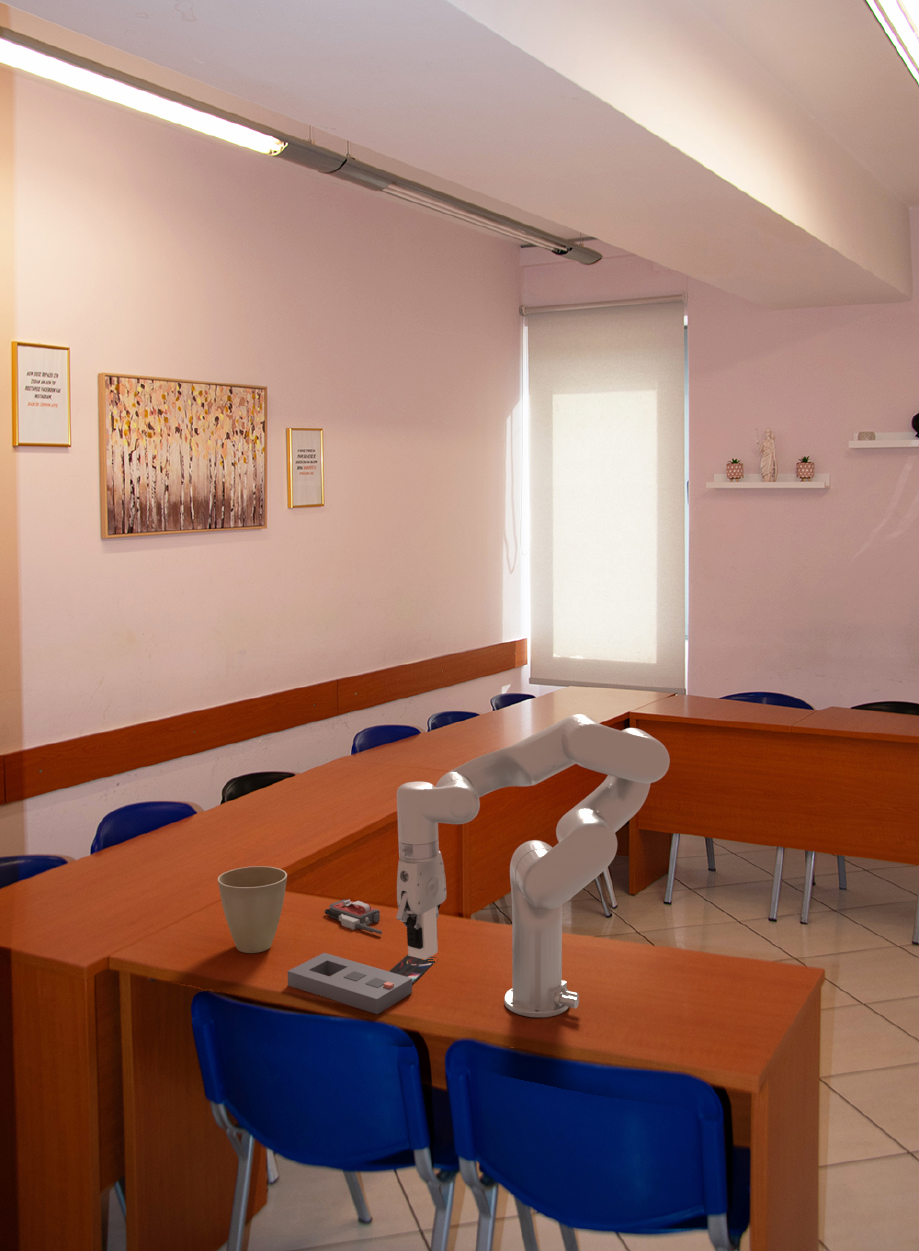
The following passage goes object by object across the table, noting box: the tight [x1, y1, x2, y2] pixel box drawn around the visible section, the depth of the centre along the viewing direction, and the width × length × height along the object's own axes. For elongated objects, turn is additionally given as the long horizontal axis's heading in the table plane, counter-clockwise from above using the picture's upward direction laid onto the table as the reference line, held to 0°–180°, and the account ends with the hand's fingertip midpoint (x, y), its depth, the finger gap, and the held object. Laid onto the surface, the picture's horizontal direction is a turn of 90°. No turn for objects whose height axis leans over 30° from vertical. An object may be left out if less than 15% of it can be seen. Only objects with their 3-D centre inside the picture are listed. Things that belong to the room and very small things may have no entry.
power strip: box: [287, 952, 413, 1015], centre depth 209 cm, size 23×11×4 cm, turn 56°
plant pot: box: [217, 865, 288, 954], centre depth 230 cm, size 15×15×16 cm
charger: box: [407, 907, 439, 960], centre depth 198 cm, size 4×4×9 cm
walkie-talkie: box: [324, 899, 383, 935], centre depth 245 cm, size 9×4×20 cm
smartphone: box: [388, 954, 437, 986], centre depth 218 cm, size 7×1×15 cm
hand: (422, 941), depth 198 cm, fingers closed on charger, 4 cm apart
